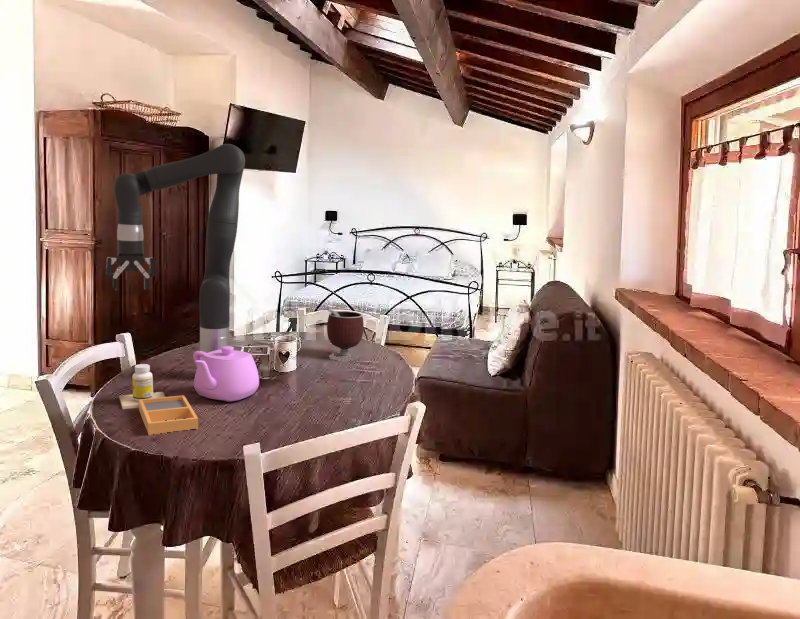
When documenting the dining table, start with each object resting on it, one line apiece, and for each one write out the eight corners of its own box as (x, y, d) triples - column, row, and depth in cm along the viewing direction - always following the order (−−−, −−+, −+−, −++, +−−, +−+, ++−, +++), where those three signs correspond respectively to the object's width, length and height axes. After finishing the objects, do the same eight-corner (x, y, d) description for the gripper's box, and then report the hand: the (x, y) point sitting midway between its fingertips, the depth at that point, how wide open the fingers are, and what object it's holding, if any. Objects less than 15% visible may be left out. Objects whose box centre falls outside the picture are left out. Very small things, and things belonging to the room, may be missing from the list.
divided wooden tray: (184, 405, 182) (184, 395, 181) (198, 429, 164) (198, 418, 164) (138, 409, 176) (138, 399, 175) (148, 435, 159) (148, 423, 158)
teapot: (211, 382, 205) (211, 336, 202) (266, 392, 197) (267, 345, 195) (160, 401, 184) (159, 350, 181) (220, 414, 176) (220, 361, 174)
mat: (162, 394, 190) (162, 391, 190) (168, 404, 181) (168, 401, 181) (119, 398, 184) (119, 395, 184) (122, 409, 176) (122, 406, 176)
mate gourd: (347, 351, 255) (349, 302, 251) (369, 359, 245) (371, 308, 241) (315, 356, 244) (317, 305, 241) (336, 364, 234) (339, 311, 231)
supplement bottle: (136, 395, 185) (135, 362, 183) (155, 396, 186) (155, 363, 184) (130, 401, 180) (129, 367, 178) (149, 402, 180) (149, 368, 179)
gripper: (152, 238, 206) (153, 287, 209) (104, 237, 199) (105, 288, 202) (156, 240, 200) (156, 291, 202) (106, 239, 193) (107, 292, 196)
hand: (131, 289), depth 202 cm, fingers open, 8 cm apart
